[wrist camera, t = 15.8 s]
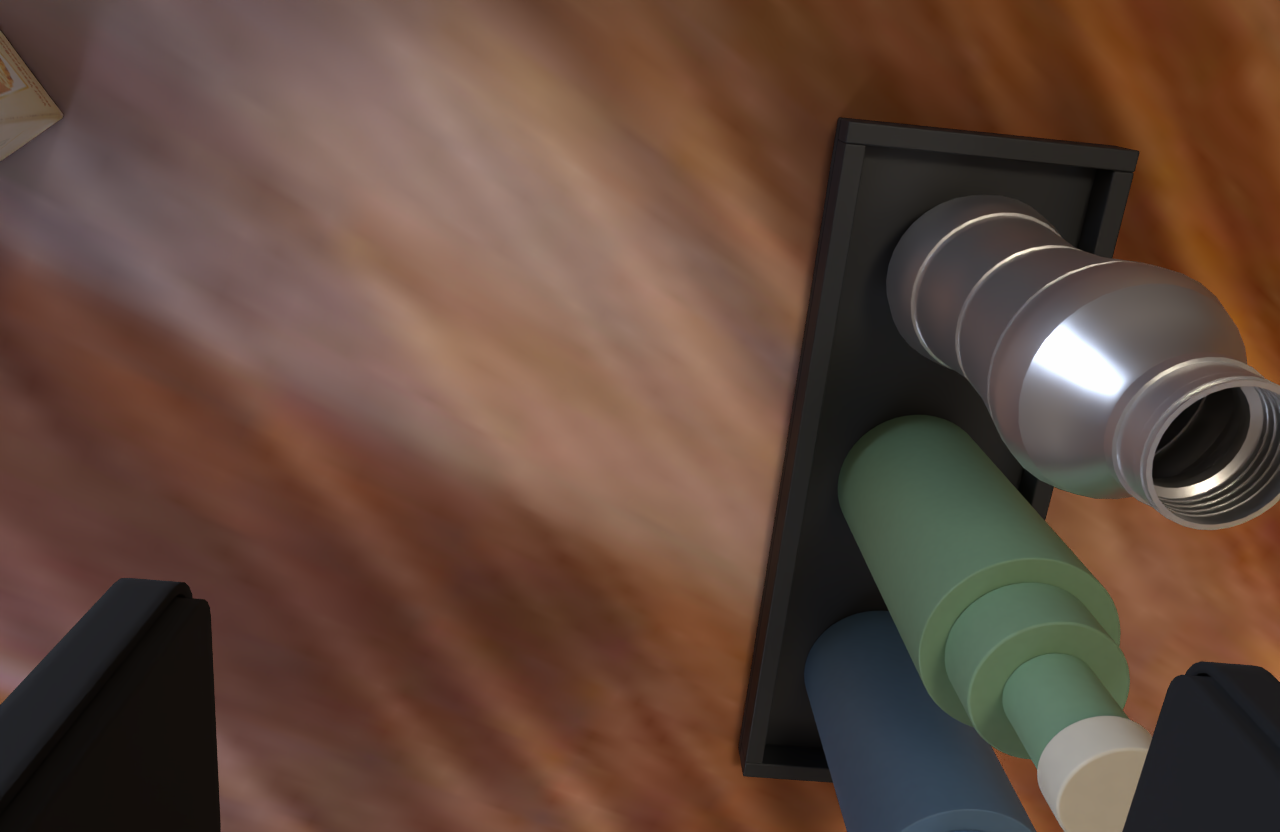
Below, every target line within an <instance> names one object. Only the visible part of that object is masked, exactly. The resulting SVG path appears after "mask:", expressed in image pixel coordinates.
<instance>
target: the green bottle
mask: <svg viewBox="0 0 1280 832" xmlns="http://www.w3.org/2000/svg"><path fill="white" fill-rule="evenodd" d="M838 499H839V504H840V507H841V510H842V513H843V515H844V517H845V519H846V521H847V523H848V526H849V528H850V530H851V532H852V534H853V536H854V538H855V540H856V542H857V545H858V547H859V549H860V551H861V553H862V555H863V557H864V559H865V562H866V564H867V566H868V568H869V570H870V572H871V574H872V576H873V578H874V581H875V583H876V585H877V587H878V589H879V591H880V593H881V595H882V598H883V600H884V602H885V604H886V606H887V608H888V610H889V612H890V614H891V617H892V619H893V621H894V623H895V625H896V627H897V629H898V631H899V633H900V636H901V638H902V640H903V642H904V644H905V646H906V648H907V650H908V653H909V655H910V657H911V659H912V661H913V663H914V665H915V667H916V669H917V672H918V674H919V676H920V678H921V680H922V682H923V684H924V686H925V688H926V690H927V692H928V694H929V695H930V697H931V698H932V699H933V701H934V702H935V703H936V704H937V705H938V706H939V707H940V708H941V709H942V710H943V711H944V712H946V713H947V714H948V715H950V716H951V717H952V718H954V719H956V720H958V721H960V722H962V723H964V724H966V725H969V726H971V727H974V728H975V730H976V731H977V732H978V734H979V735H980V736H981V737H982V738H983V739H984V740H985V741H986V742H987V743H988V744H990V745H991V746H992V747H994V748H996V749H998V750H999V751H1001V752H1003V753H1006V754H1008V755H1011V756H1015V757H1019V758H1024V759H1032V761H1033V763H1034V765H1035V766H1036V768H1037V778H1038V784H1039V787H1040V790H1041V792H1042V794H1043V796H1044V797H1045V799H1046V801H1047V803H1048V805H1049V806H1050V808H1051V810H1052V812H1053V814H1054V815H1055V817H1056V819H1057V821H1058V822H1059V824H1060V826H1061V827H1062V829H1063V830H1064V832H1122V831H1123V828H1124V825H1125V822H1126V818H1127V815H1128V812H1129V809H1130V806H1131V803H1132V800H1133V797H1134V793H1135V790H1136V787H1137V784H1138V781H1139V778H1140V775H1141V771H1142V768H1143V765H1144V762H1145V759H1146V756H1147V753H1148V750H1149V746H1150V743H1151V740H1152V736H1151V734H1150V733H1149V732H1148V731H1147V730H1146V729H1145V728H1143V727H1142V726H1141V725H1139V724H1137V723H1136V722H1133V721H1131V720H1130V719H1129V718H1128V717H1127V715H1126V714H1125V713H1124V711H1123V708H1124V705H1125V703H1126V700H1127V697H1128V692H1129V684H1130V677H1129V669H1128V665H1127V661H1126V659H1125V657H1124V654H1123V653H1122V651H1121V649H1120V648H1119V645H1120V622H1119V617H1118V613H1117V609H1116V607H1115V605H1114V602H1113V600H1112V598H1111V597H1110V595H1109V594H1108V592H1107V590H1106V589H1105V588H1104V587H1103V586H1102V585H1101V584H1100V582H1099V581H1098V580H1097V579H1096V578H1095V577H1094V576H1093V575H1092V573H1091V572H1090V571H1089V570H1088V569H1087V568H1086V567H1085V566H1084V564H1083V563H1082V562H1081V561H1080V560H1079V559H1078V558H1077V557H1076V555H1075V554H1074V553H1073V552H1072V551H1071V550H1070V549H1069V548H1068V546H1067V545H1066V544H1065V543H1064V542H1063V541H1062V540H1061V538H1060V537H1059V536H1058V535H1057V534H1056V533H1055V532H1054V531H1053V529H1052V528H1051V527H1050V526H1049V525H1048V524H1047V523H1046V522H1045V520H1044V519H1043V518H1042V517H1041V516H1040V515H1039V514H1038V513H1037V511H1036V510H1035V509H1034V508H1033V507H1032V506H1031V505H1030V504H1029V502H1028V501H1027V500H1026V499H1025V498H1024V497H1023V496H1022V495H1021V493H1020V492H1019V491H1018V490H1017V489H1016V488H1015V487H1014V486H1013V484H1012V483H1011V482H1010V481H1009V480H1008V479H1007V478H1006V477H1005V475H1004V474H1003V473H1002V472H1001V471H1000V470H999V469H998V468H997V466H996V465H995V464H994V463H993V462H992V461H991V460H990V459H989V457H988V456H987V455H986V454H985V453H984V452H983V451H982V449H981V448H980V447H979V446H978V445H977V444H976V443H975V442H974V440H973V439H972V438H971V437H970V436H969V435H968V434H967V433H966V432H965V431H964V430H963V429H961V428H960V427H958V426H957V425H955V424H954V423H952V422H950V421H947V420H945V419H942V418H939V417H935V416H929V415H908V416H902V417H898V418H894V419H891V420H888V421H886V422H884V423H882V424H880V425H877V426H876V427H874V428H873V429H871V430H870V431H868V432H867V433H866V434H865V435H863V436H862V437H861V438H860V439H859V440H858V441H857V442H856V443H855V445H854V446H853V447H852V449H851V450H850V451H849V453H848V455H847V456H846V458H845V460H844V462H843V465H842V467H841V470H840V474H839V478H838Z"/></svg>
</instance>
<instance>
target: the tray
mask: <svg viewBox="0 0 1280 832" xmlns="http://www.w3.org/2000/svg"><path fill="white" fill-rule="evenodd" d="M1138 156H1139V151H1137V150H1132V149H1127V148H1122V147H1118V146H1111V145H1102V144H1092V143H1082V142H1073V141H1063V140H1053V139H1044V138H1034V137H1024V136H1015V135H1005V134H995V133H986V132H976V131H966V130H957V129H947V128H937V127H928V126H918V125H908V124H899V123H889V122H879V121H870V120H860V119H850V118H841V117H840V118H838V123H837V129H836V135H835V141H834V148H833V154H832V160H831V167H830V173H829V179H828V186H827V192H826V198H825V205H824V211H823V217H822V223H821V230H820V236H819V242H818V249H817V255H816V261H815V268H814V274H813V280H812V287H811V293H810V299H809V306H808V312H807V318H806V324H805V331H804V337H803V343H802V350H801V356H800V362H799V369H798V375H797V381H796V388H795V394H794V400H793V407H792V413H791V419H790V425H789V432H788V438H787V444H786V451H785V457H784V463H783V470H782V476H781V482H780V489H779V495H778V501H777V507H776V514H775V520H774V526H773V533H772V539H771V545H770V552H769V558H768V564H767V571H766V577H765V583H764V590H763V596H762V602H761V608H760V615H759V621H758V627H757V634H756V640H755V646H754V653H753V659H752V665H751V672H750V678H749V684H748V690H747V697H746V703H745V709H744V716H743V722H742V728H741V735H740V741H739V747H738V748H739V754H740V760H741V766H742V772H743V776H747V777H761V778H775V779H789V780H803V781H818V782H832V783H833V781H832V777H831V774H830V770H829V767H828V763H827V760H826V756H825V753H824V750H823V746H822V743H821V739H820V736H819V732H818V729H817V725H816V722H815V718H814V715H813V711H812V708H811V704H810V701H809V697H808V694H807V690H806V686H805V681H804V670H805V663H806V660H807V657H808V654H809V652H810V650H811V648H812V646H813V645H814V643H815V642H816V640H817V639H818V638H819V637H820V636H821V635H822V634H823V633H824V632H825V631H826V630H827V629H828V628H829V627H831V626H832V625H833V624H835V623H837V622H838V621H840V620H842V619H844V618H846V617H848V616H851V615H854V614H857V613H862V612H866V611H889V610H888V608H887V606H886V604H885V602H884V600H883V598H882V595H881V593H880V591H879V589H878V587H877V585H876V583H875V581H874V578H873V576H872V574H871V572H870V570H869V568H868V566H867V564H866V562H865V559H864V557H863V555H862V553H861V551H860V549H859V547H858V545H857V542H856V540H855V538H854V536H853V534H852V532H851V530H850V528H849V526H848V523H847V521H846V519H845V517H844V515H843V513H842V510H841V507H840V504H839V499H838V478H839V474H840V470H841V467H842V465H843V462H844V460H845V458H846V456H847V455H848V453H849V451H850V450H851V449H852V447H853V446H854V445H855V443H856V442H857V441H858V440H859V439H860V438H861V437H862V436H863V435H865V434H866V433H867V432H868V431H870V430H871V429H873V428H874V427H876V426H877V425H880V424H882V423H884V422H886V421H888V420H891V419H894V418H898V417H902V416H908V415H929V416H935V417H939V418H942V419H945V420H947V421H950V422H952V423H954V424H955V425H957V426H958V427H960V428H961V429H963V430H964V431H965V432H966V433H967V434H968V435H969V436H970V437H971V438H972V439H973V440H974V442H975V443H976V444H977V445H978V446H979V447H980V448H981V449H982V451H983V452H984V453H985V454H986V455H987V456H988V457H989V459H990V460H991V461H992V462H993V463H994V464H995V465H996V466H997V468H998V469H999V470H1000V471H1001V472H1002V473H1003V474H1004V475H1005V477H1006V478H1007V479H1008V480H1009V481H1010V482H1011V483H1012V484H1013V486H1014V487H1015V488H1016V489H1017V490H1018V491H1019V492H1020V493H1021V495H1022V496H1023V497H1024V498H1025V499H1026V500H1027V501H1028V502H1029V504H1030V505H1031V506H1032V507H1033V508H1034V509H1035V510H1036V511H1037V513H1038V514H1039V515H1040V516H1041V517H1042V518H1043V519H1044V520H1045V519H1046V515H1047V511H1048V507H1049V503H1050V499H1051V495H1052V491H1053V487H1054V486H1051V485H1049V484H1047V483H1045V482H1043V481H1041V480H1039V479H1037V478H1036V477H1035V476H1034V475H1032V474H1031V473H1030V472H1028V471H1027V470H1026V469H1024V468H1023V467H1022V465H1021V464H1020V463H1019V462H1018V461H1017V459H1016V458H1015V457H1014V456H1013V454H1012V453H1011V452H1010V450H1009V449H1008V447H1007V446H1006V444H1005V443H1004V442H1003V440H1002V439H1001V436H1000V434H999V432H998V430H997V428H996V426H995V424H994V422H993V419H992V417H991V415H990V413H989V411H988V409H987V407H986V405H985V403H984V401H983V399H982V397H981V396H980V395H979V394H978V392H977V391H976V390H975V389H974V387H973V386H972V385H971V383H970V382H969V381H968V379H966V378H965V377H963V376H962V375H960V374H959V373H958V372H956V371H955V370H952V369H949V368H946V367H944V366H942V365H940V364H938V363H936V362H933V361H932V360H930V359H928V358H926V357H924V356H923V355H921V354H920V353H918V352H917V351H916V350H915V349H913V348H912V347H911V346H909V344H908V343H907V342H906V341H905V339H904V338H903V337H902V336H901V335H900V333H899V331H898V329H897V327H896V325H895V323H894V321H893V318H892V314H891V310H890V306H889V302H888V298H887V291H886V278H887V272H888V265H889V262H890V260H891V257H892V254H893V251H894V249H895V247H896V246H897V244H898V242H899V240H900V239H901V237H902V235H903V234H904V233H905V232H906V231H907V229H908V228H909V227H910V226H911V225H912V224H913V223H914V222H915V221H916V220H917V219H918V218H919V217H921V216H922V215H923V214H924V213H925V212H927V211H929V210H930V209H932V208H934V207H936V206H937V205H939V204H941V203H944V202H947V201H949V200H952V199H955V198H960V197H966V196H972V195H998V196H1005V197H1008V198H1012V199H1016V200H1019V201H1021V202H1023V203H1025V204H1027V205H1029V206H1031V207H1032V208H1033V209H1035V210H1036V211H1037V212H1038V213H1039V214H1040V215H1042V216H1043V217H1044V218H1045V219H1046V220H1047V221H1048V222H1049V223H1050V224H1051V225H1053V226H1054V228H1055V229H1056V230H1057V232H1058V233H1059V234H1060V236H1061V237H1062V238H1063V239H1064V240H1065V241H1067V242H1068V243H1069V244H1071V245H1072V246H1073V247H1075V248H1077V249H1080V250H1082V251H1085V252H1088V253H1091V254H1094V255H1097V256H1100V257H1105V258H1112V257H1113V253H1114V249H1115V245H1116V241H1117V237H1118V233H1119V230H1120V226H1121V222H1122V218H1123V214H1124V210H1125V206H1126V202H1127V198H1128V194H1129V190H1130V187H1131V183H1132V179H1133V173H1132V172H1134V171H1135V168H1136V164H1137V160H1138Z"/></svg>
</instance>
